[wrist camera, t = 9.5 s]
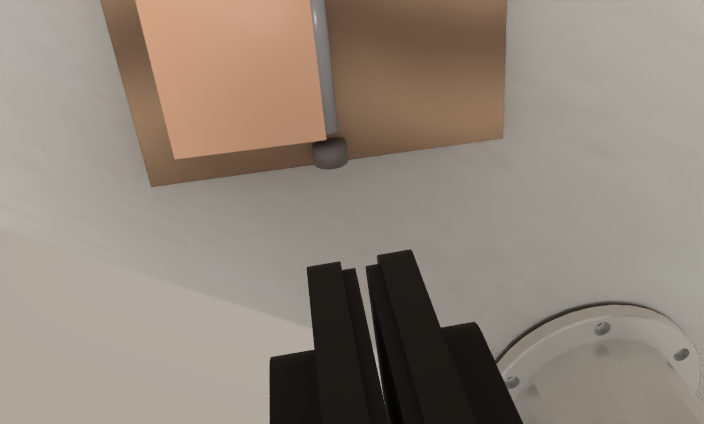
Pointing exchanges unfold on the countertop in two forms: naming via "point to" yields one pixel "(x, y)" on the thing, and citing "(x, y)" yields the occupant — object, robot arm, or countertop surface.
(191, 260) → the countertop surface
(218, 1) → the tile
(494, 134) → the board
